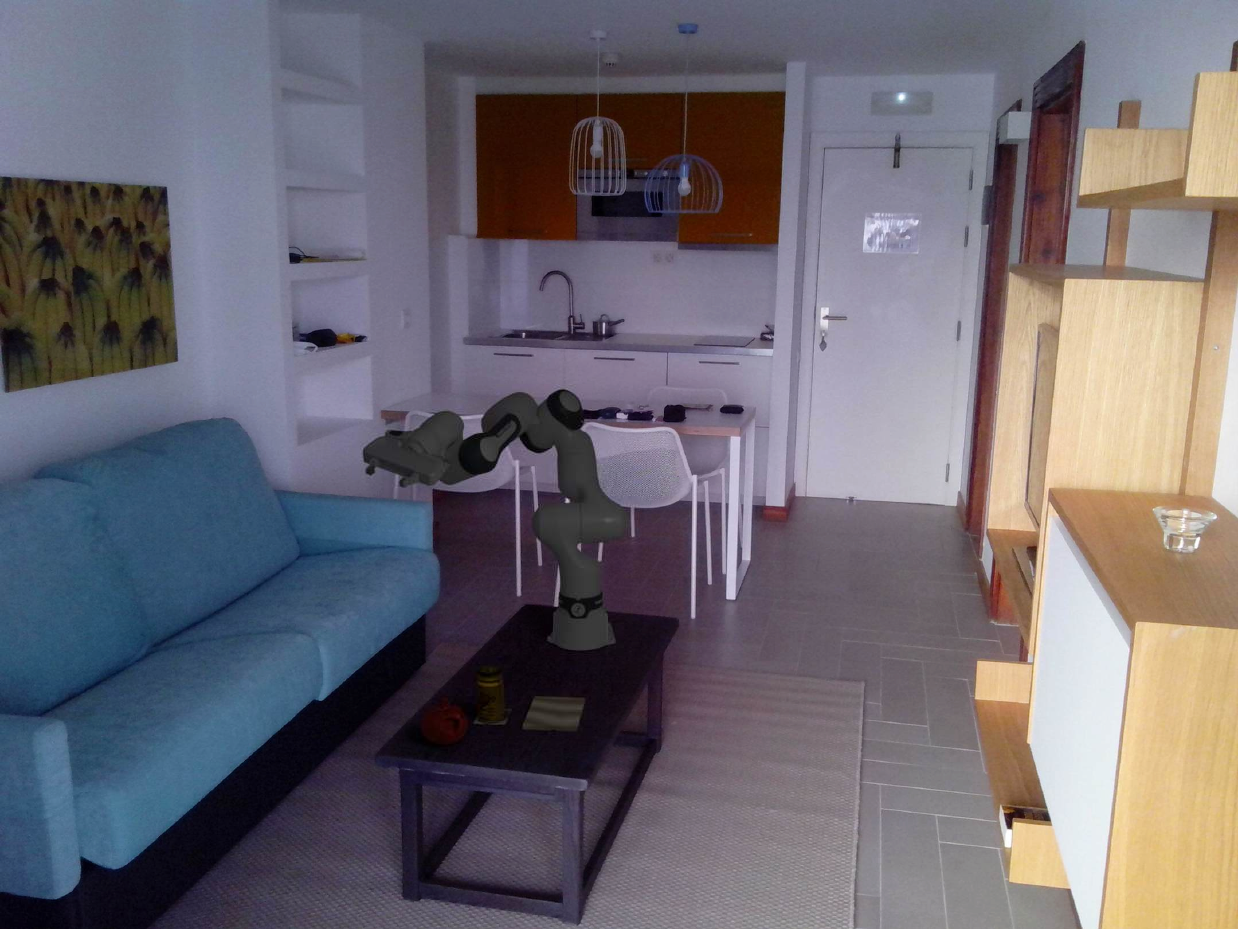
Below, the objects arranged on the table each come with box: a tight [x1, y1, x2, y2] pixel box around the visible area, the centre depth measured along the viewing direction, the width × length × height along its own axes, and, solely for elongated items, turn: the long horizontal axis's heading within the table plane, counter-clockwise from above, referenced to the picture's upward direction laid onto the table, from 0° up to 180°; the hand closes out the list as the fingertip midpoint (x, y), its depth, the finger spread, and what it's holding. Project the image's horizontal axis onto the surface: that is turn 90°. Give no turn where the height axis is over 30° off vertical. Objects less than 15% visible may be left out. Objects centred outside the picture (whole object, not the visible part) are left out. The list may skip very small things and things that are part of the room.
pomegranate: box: [420, 697, 468, 746], centre depth 227 cm, size 10×10×9 cm
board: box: [522, 695, 586, 732], centre depth 239 cm, size 16×12×1 cm
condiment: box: [473, 664, 513, 726], centre depth 237 cm, size 7×8×12 cm
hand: (384, 478), depth 246 cm, fingers open, 8 cm apart
